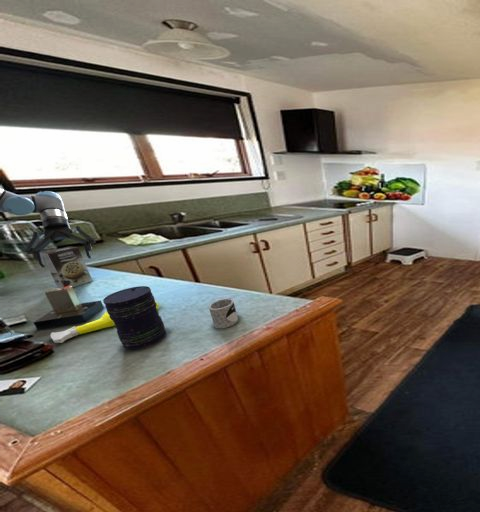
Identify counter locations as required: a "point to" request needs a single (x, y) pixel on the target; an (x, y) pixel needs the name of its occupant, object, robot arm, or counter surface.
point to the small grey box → (63, 299)
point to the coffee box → (67, 267)
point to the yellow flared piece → (85, 328)
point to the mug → (223, 313)
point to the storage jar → (135, 317)
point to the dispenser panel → (69, 316)
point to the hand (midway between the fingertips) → (66, 261)
